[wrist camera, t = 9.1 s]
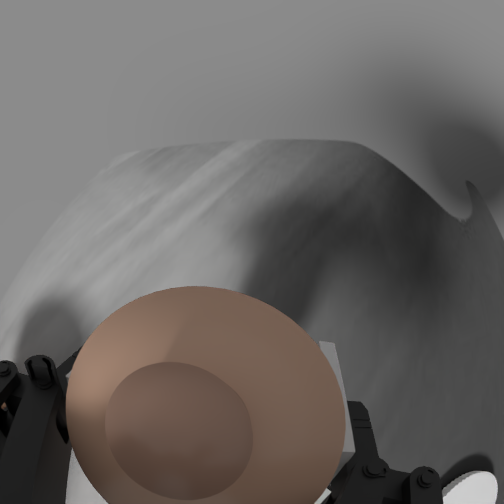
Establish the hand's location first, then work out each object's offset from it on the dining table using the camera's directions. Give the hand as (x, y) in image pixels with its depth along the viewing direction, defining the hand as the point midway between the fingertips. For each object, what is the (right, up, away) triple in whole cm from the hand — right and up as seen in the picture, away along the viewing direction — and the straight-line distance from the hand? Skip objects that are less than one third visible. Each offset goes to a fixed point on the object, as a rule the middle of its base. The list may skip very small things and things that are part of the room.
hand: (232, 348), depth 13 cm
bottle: (-1, -5, +2) cm, 5 cm away
